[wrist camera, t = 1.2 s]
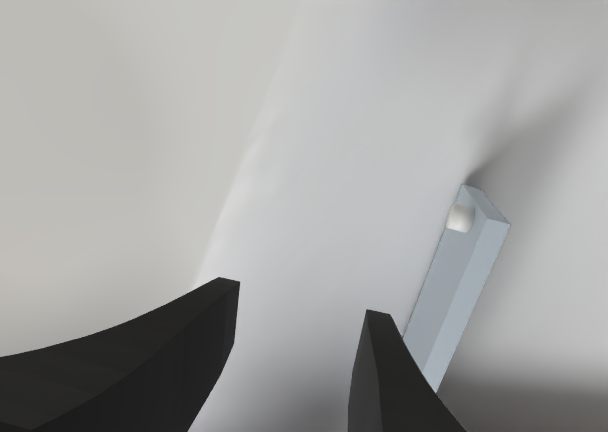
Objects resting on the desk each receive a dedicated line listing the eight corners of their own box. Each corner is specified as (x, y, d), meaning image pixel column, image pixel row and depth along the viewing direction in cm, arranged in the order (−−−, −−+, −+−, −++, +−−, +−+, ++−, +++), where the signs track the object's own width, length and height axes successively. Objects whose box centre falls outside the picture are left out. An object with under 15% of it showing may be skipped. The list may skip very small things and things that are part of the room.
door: (383, 430, 23) (383, 511, 19) (357, 422, 23) (351, 500, 19) (480, 188, 18) (511, 224, 14) (446, 179, 18) (466, 212, 14)
